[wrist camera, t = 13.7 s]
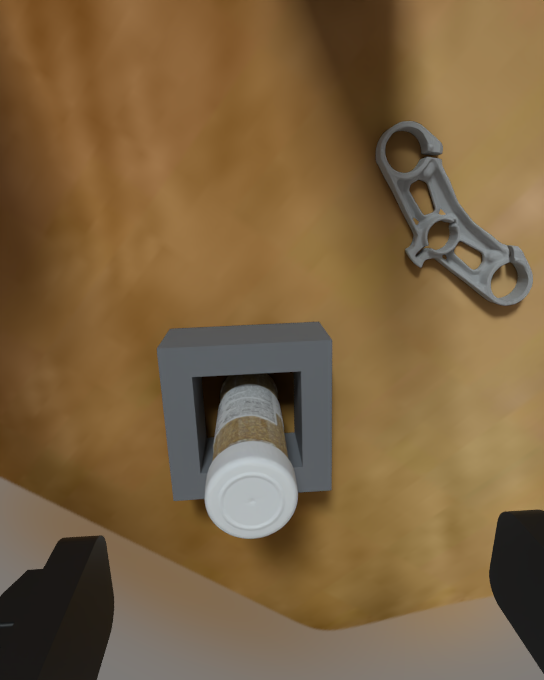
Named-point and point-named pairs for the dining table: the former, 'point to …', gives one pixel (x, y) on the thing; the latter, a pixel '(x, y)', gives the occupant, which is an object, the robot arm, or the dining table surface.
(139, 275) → the dining table surface
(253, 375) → the sprinkles bottle
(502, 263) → the bracket
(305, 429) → the well
